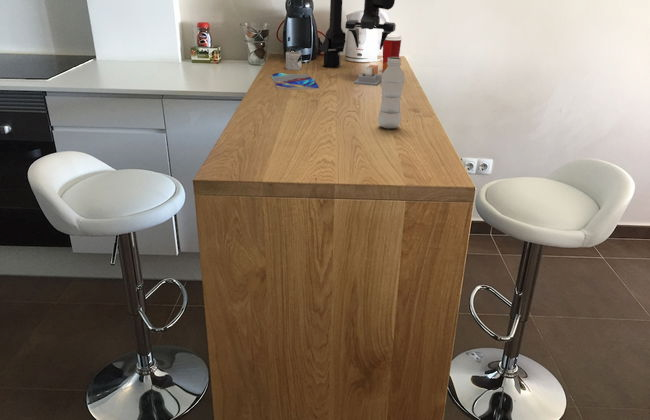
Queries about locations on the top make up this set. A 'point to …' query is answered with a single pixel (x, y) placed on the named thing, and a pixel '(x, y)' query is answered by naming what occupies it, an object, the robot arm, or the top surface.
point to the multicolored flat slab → (294, 81)
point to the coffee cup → (391, 48)
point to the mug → (293, 60)
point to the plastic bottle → (391, 94)
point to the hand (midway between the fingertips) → (369, 48)
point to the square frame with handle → (366, 78)
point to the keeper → (369, 73)
